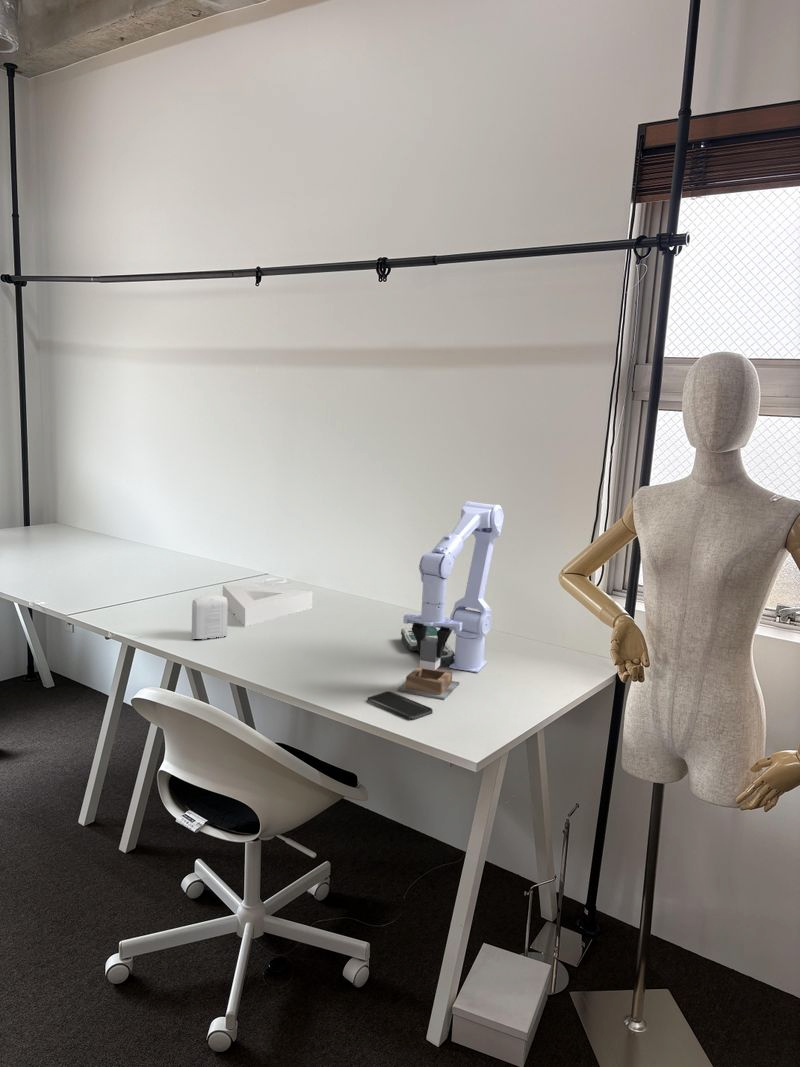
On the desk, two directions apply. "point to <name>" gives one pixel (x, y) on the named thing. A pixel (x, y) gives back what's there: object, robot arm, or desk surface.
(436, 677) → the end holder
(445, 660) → the communication device
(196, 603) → the white upright block
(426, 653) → the connector plug
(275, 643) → the desk surface
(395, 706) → the phone
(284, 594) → the triangle block
